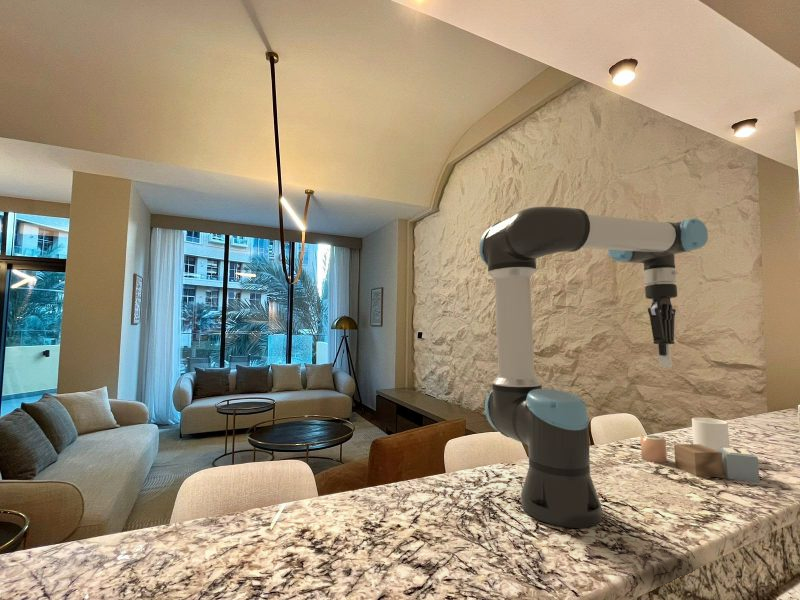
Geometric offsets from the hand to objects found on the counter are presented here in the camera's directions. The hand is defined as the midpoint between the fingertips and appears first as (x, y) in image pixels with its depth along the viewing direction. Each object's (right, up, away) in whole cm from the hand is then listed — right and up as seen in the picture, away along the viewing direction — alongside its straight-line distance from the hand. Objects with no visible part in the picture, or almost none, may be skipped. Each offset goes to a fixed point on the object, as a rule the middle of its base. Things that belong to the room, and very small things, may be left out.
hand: (665, 367), depth 106 cm
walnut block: (+3, -26, -8) cm, 27 cm away
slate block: (+11, -26, -11) cm, 30 cm away
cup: (+19, -27, +5) cm, 33 cm away
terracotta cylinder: (-2, -27, +1) cm, 27 cm away
